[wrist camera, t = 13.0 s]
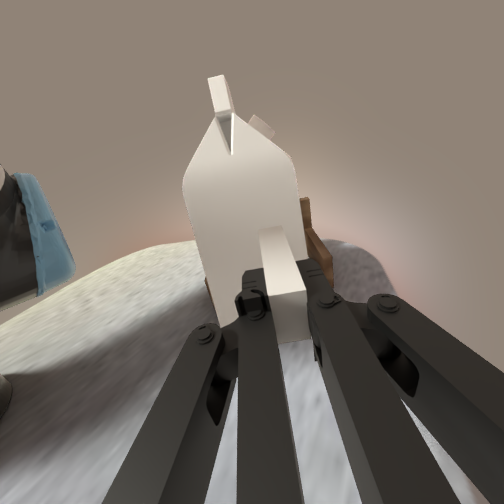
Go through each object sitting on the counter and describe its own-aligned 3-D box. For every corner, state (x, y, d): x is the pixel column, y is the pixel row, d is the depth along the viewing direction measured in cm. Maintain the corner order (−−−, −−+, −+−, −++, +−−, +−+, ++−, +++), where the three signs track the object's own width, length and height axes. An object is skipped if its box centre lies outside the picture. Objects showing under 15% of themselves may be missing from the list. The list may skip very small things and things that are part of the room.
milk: (230, 281, 40) (177, 102, 28) (298, 269, 39) (274, 79, 27) (223, 338, 29) (133, 87, 17) (317, 323, 28) (290, 47, 16)
